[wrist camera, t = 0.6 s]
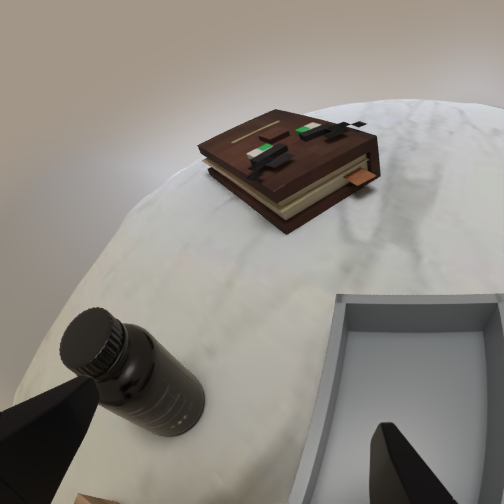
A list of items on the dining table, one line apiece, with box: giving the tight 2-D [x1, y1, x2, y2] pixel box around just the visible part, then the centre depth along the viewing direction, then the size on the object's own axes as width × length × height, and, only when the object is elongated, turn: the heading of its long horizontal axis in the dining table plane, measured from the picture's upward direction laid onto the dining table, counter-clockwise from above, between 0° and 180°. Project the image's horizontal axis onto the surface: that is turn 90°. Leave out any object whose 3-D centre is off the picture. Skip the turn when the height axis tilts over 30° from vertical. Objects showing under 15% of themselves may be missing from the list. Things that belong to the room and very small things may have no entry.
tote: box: [287, 294, 504, 504], centre depth 15 cm, size 18×14×5 cm
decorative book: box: [198, 109, 380, 235], centre depth 45 cm, size 19×8×30 cm
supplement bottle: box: [59, 307, 204, 436], centre depth 21 cm, size 7×7×12 cm
